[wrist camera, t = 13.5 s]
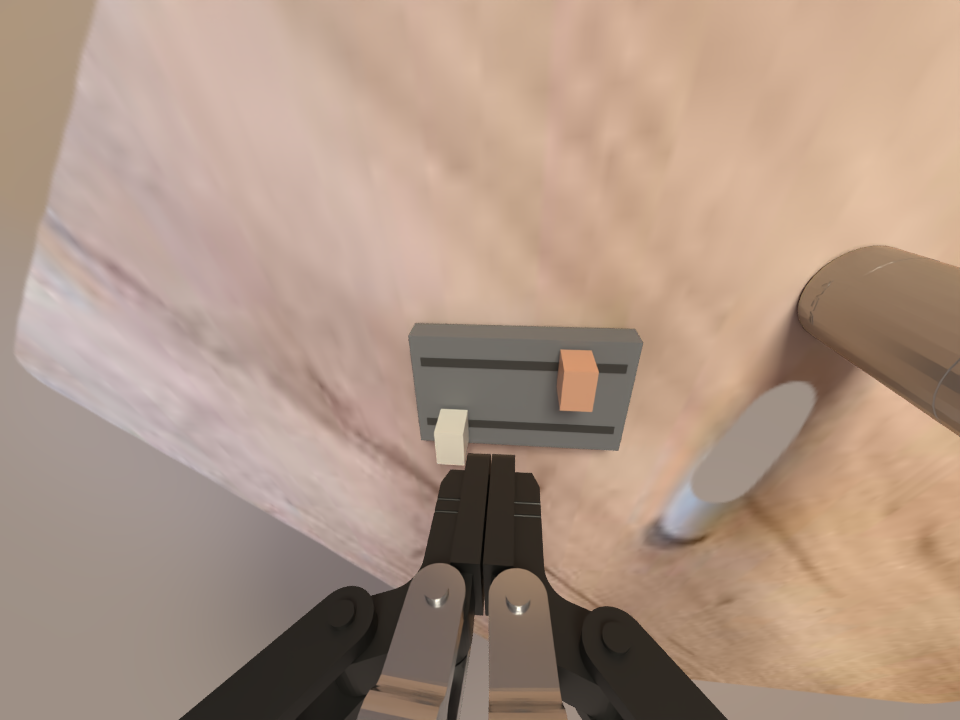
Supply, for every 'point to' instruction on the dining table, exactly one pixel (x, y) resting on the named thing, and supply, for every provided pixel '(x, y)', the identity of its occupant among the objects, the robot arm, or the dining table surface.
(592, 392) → the terracotta fader
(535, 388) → the fader console
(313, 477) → the dining table surface
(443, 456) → the cream fader
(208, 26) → the dining table surface
